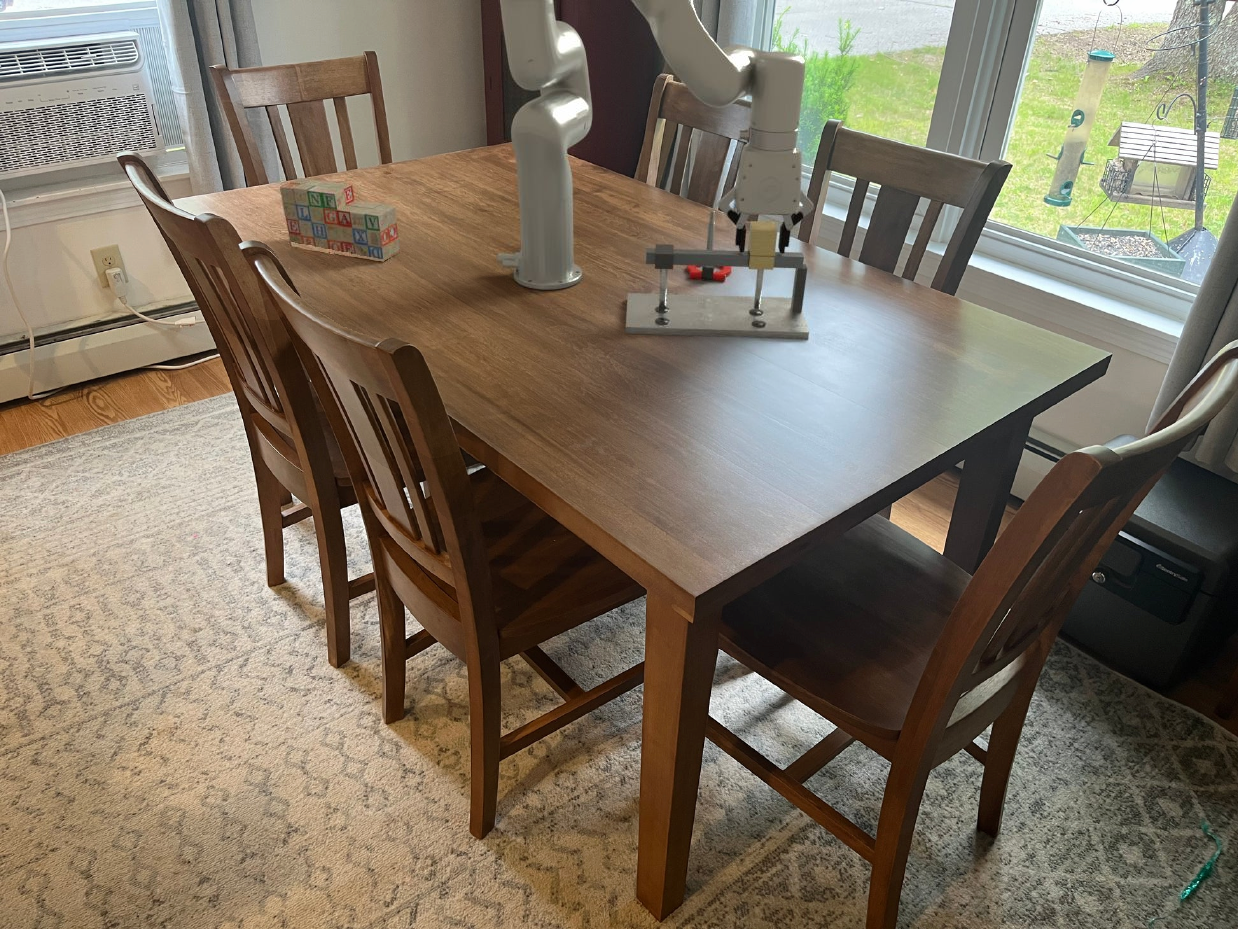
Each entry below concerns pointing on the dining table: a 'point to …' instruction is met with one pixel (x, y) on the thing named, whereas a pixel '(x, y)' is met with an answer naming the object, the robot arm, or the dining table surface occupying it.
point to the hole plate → (714, 316)
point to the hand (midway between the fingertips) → (761, 249)
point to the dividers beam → (669, 256)
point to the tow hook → (708, 271)
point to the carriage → (761, 252)
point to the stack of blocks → (338, 219)
